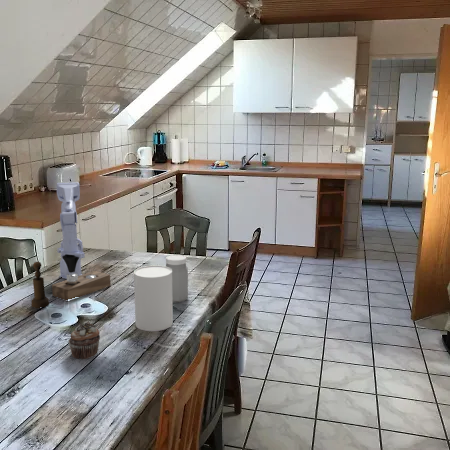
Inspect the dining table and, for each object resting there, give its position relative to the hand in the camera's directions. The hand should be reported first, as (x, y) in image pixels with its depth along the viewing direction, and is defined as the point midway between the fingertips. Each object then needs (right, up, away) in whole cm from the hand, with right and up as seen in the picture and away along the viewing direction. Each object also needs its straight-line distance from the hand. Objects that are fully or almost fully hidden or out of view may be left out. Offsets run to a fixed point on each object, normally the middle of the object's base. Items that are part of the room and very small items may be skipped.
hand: (71, 271), depth 207 cm
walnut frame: (+3, -9, +6) cm, 11 cm away
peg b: (+5, -8, +10) cm, 14 cm away
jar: (+44, -11, -2) cm, 45 cm away
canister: (+38, -17, -25) cm, 48 cm away
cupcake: (+19, -22, -48) cm, 56 cm away
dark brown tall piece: (-9, -13, -10) cm, 19 cm away
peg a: (0, -6, +1) cm, 6 cm away
